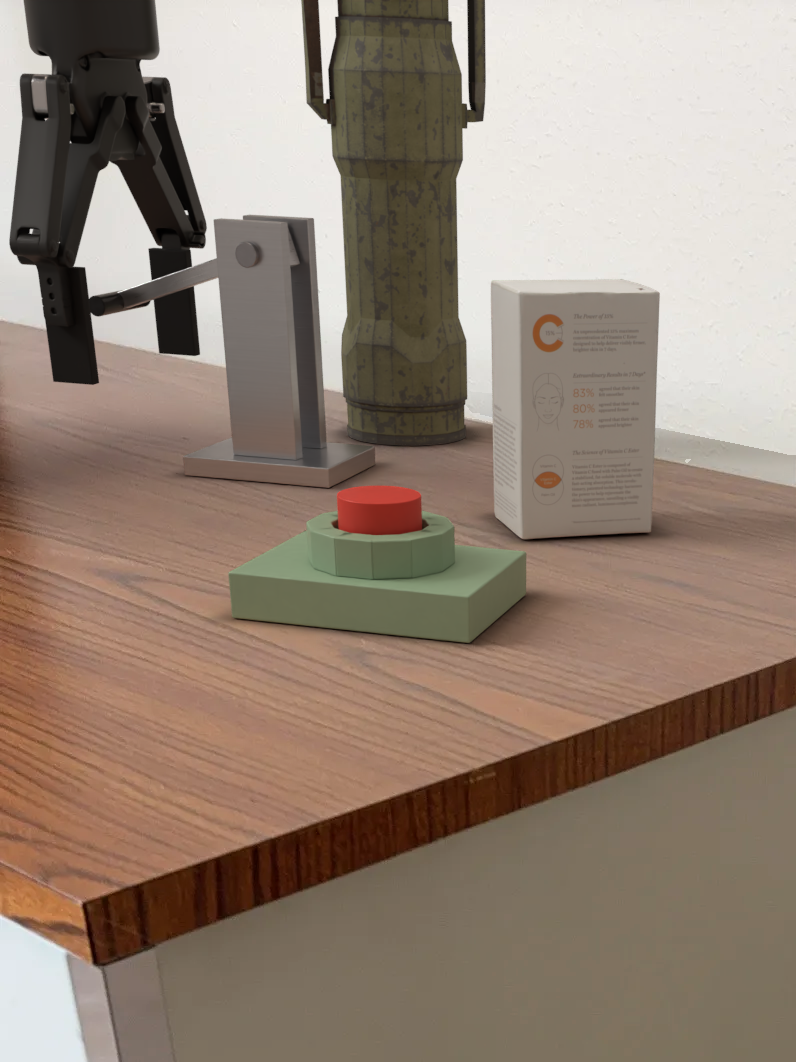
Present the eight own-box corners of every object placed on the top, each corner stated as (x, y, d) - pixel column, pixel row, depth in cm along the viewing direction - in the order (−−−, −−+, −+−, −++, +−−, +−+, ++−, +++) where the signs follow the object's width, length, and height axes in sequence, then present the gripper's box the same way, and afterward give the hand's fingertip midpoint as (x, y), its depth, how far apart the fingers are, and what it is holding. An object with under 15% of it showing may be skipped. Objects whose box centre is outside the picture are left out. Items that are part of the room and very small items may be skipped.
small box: (618, 510, 101) (625, 277, 94) (653, 534, 96) (663, 290, 89) (490, 516, 99) (488, 277, 92) (519, 541, 93) (519, 290, 87)
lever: (96, 328, 104) (80, 288, 103) (142, 318, 109) (128, 279, 108) (272, 269, 99) (258, 226, 98) (312, 261, 104) (299, 220, 103)
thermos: (312, 426, 122) (277, -157, 104) (464, 420, 126) (456, -142, 108) (341, 449, 115) (309, -172, 97) (502, 442, 119) (499, -156, 101)
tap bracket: (184, 475, 106) (158, 218, 98) (238, 452, 113) (218, 210, 105) (329, 488, 104) (314, 227, 96) (376, 464, 111) (365, 218, 103)
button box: (231, 618, 79) (223, 532, 77) (307, 572, 86) (302, 494, 84) (469, 643, 76) (468, 556, 74) (526, 594, 84) (526, 514, 82)
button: (325, 537, 78) (323, 499, 77) (357, 519, 82) (355, 482, 81) (404, 544, 77) (403, 506, 76) (434, 526, 81) (432, 489, 80)
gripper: (28, -33, 85) (83, 400, 96) (239, -7, 106) (265, 347, 117) (-99, -36, 87) (-31, 391, 98) (134, -10, 108) (168, 340, 119)
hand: (130, 368), depth 107 cm, fingers open, 13 cm apart
